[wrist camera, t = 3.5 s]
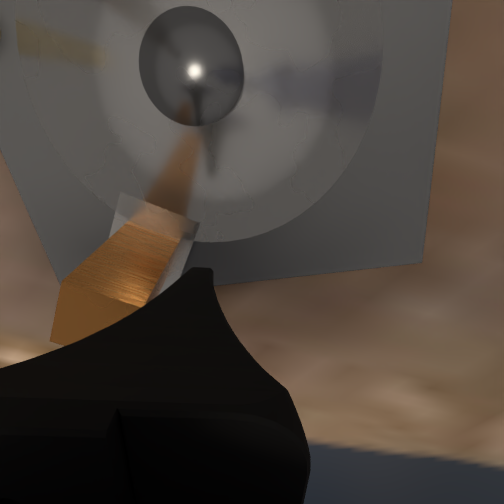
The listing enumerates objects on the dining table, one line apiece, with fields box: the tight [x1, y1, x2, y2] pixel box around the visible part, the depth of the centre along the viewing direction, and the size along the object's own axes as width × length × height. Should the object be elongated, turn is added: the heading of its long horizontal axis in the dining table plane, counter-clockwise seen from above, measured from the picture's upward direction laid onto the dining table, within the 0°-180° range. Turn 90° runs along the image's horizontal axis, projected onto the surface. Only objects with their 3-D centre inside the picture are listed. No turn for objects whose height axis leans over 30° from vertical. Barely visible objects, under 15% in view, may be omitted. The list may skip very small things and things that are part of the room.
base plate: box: [0, 0, 452, 286], centre depth 10 cm, size 16×16×3 cm
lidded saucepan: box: [15, 0, 383, 346], centre depth 9 cm, size 14×11×5 cm
